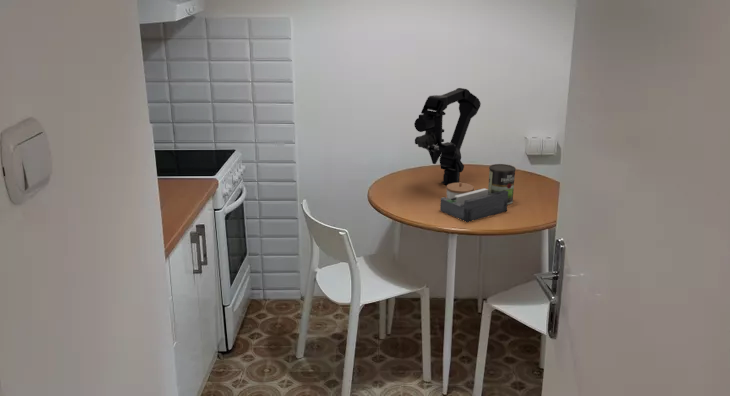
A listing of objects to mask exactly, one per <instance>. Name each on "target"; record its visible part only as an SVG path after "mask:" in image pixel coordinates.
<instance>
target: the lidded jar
mask: <svg viewBox="0 0 730 396" xmlns="http://www.w3.org/2000/svg"><path fill="white" fill-rule="evenodd" d="M472 191H475V186H474V185H472V184H470V183H467V182H461V181H459V183H451V184H448V185H446V198H448V199H452V198H454V196H456V195H460V194H464V193H468V192H472Z"/></svg>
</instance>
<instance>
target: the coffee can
mask: <svg viewBox="0 0 730 396" xmlns="http://www.w3.org/2000/svg"><path fill="white" fill-rule="evenodd" d="M488 168H489V169H488V170H489V171H488V172H489V173H488V174H489V175H488V187H487V189H488V192H490V193H495V192H499V191H503V190H505V191H508V203H507V206H508V205H511V204H513V202H514V189H515V178H516V177H515V175H516V167H515V166H513V165H511V164H505V163H495V164H491V165H489V167H488Z"/></svg>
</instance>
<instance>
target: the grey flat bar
mask: <svg viewBox="0 0 730 396" xmlns="http://www.w3.org/2000/svg"><path fill="white" fill-rule="evenodd" d="M479 189H480V190H477V189H476V190H474V191H472V192H468V193H464V194H460V195H456V196H454V198H452V199H451V200H452V201H453V200H454V201H456V202H458V203H461V204H463V205H464V201H465V200H468V199H472V198H476V197H480V196H484V195H488V188H485V187H484V188H479Z"/></svg>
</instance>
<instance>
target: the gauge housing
mask: <svg viewBox="0 0 730 396" xmlns="http://www.w3.org/2000/svg"><path fill="white" fill-rule="evenodd" d="M480 189H481V188H477V189H476V190H480ZM507 203H508V191H505V190H503V191H499V192H495V193H490V192H488V195H484V196H480V197H476V198H472V199H468V200H465V201H464V205H463V204H461V203H458V202H456V201H454V200H453V201H452V200H451V199H448V198H447V196H444V197H440V204H439V205H440V209H439V210H440V211H439V212H442V213H445V214H447V215H449V216H451V215H452V216H451V217H453V216H454V217H453V218H456V219H458V218H459V219H458V220H460V219H461V221H463V220H464V222H465V221H466V223H470V222H473V221H472V220H474V221H477V220H480V219H484V218H487V217H491V216H494V215H498V214H501V213H505V212H507V211H508V205H507ZM469 221H470V222H469Z"/></svg>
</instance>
